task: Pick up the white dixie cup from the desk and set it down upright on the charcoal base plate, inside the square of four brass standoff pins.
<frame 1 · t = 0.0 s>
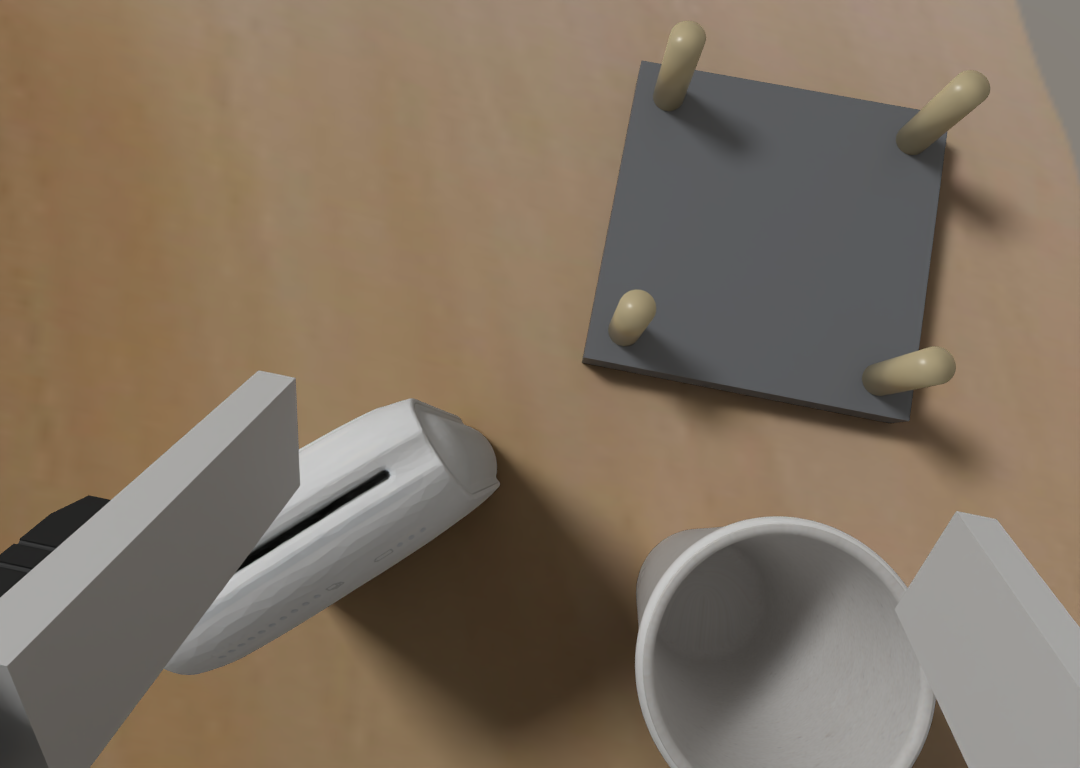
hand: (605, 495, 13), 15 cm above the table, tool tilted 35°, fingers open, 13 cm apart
photo printer: (394, 506, 28), on the table
dixie cup: (699, 593, 27), on the table
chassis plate: (758, 245, 29), on the table
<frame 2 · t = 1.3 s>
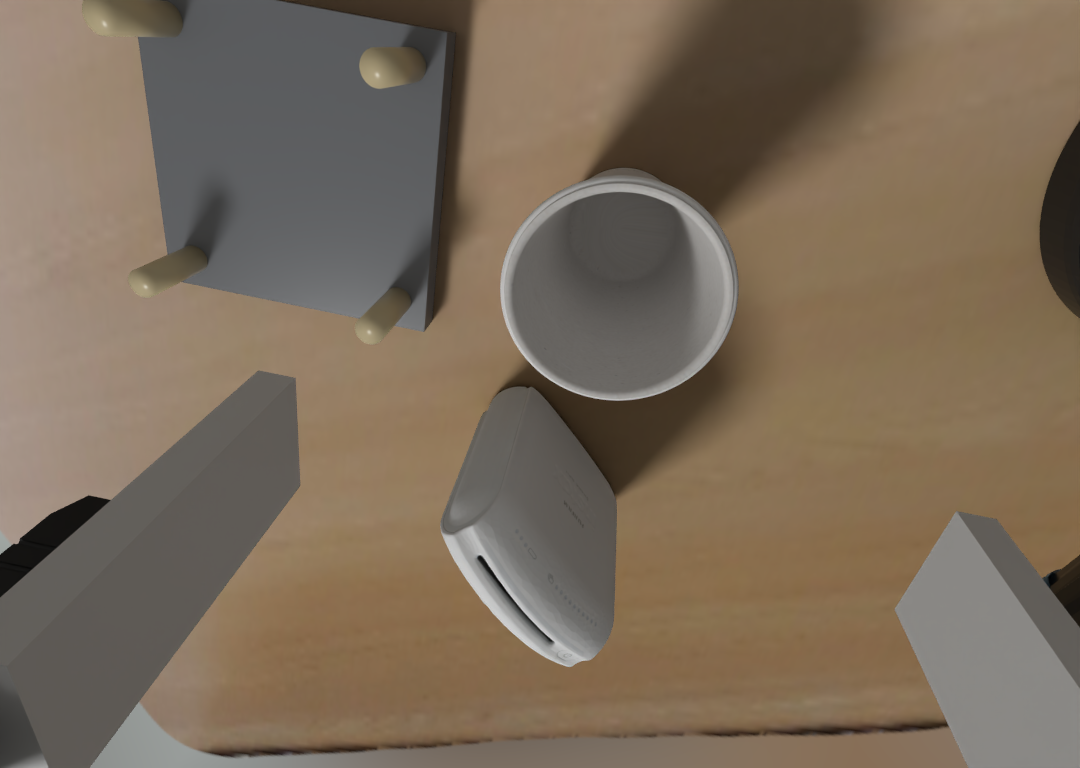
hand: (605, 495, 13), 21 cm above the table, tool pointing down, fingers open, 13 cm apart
photo printer: (553, 451, 38), on the table
dixie cup: (621, 226, 31), on the table
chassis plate: (306, 165, 31), on the table
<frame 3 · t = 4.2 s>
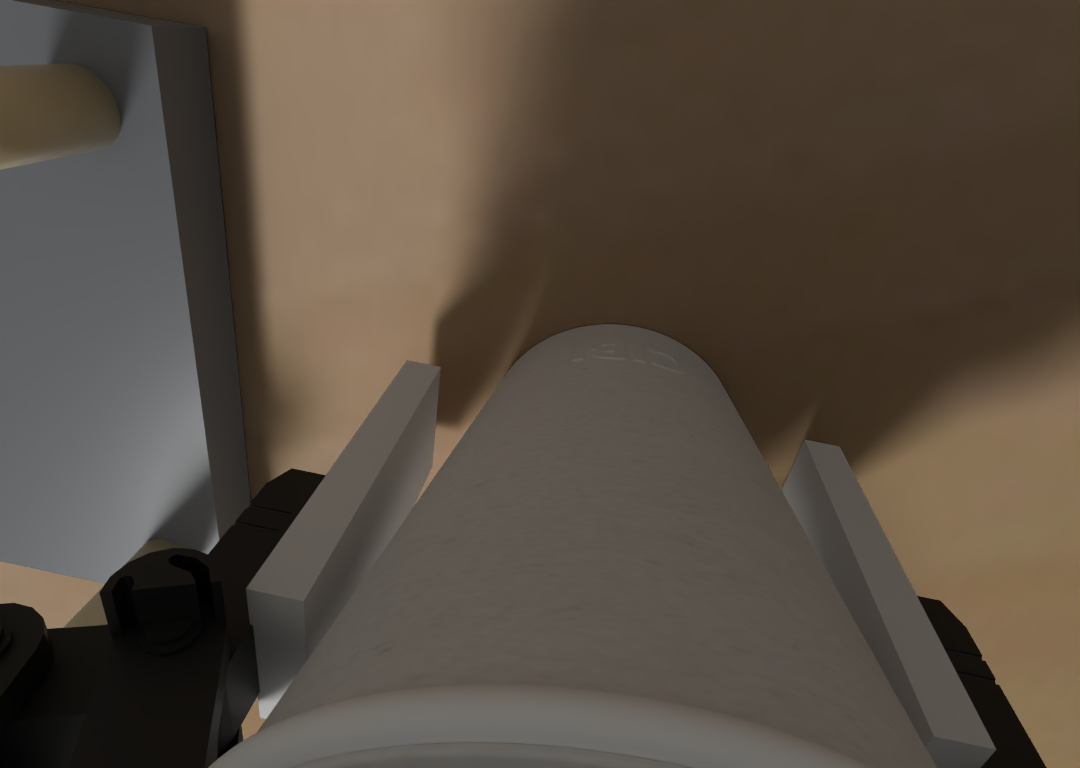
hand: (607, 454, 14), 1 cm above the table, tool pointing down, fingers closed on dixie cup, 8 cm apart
dixie cup: (608, 431, 15), on the table, touching gripper
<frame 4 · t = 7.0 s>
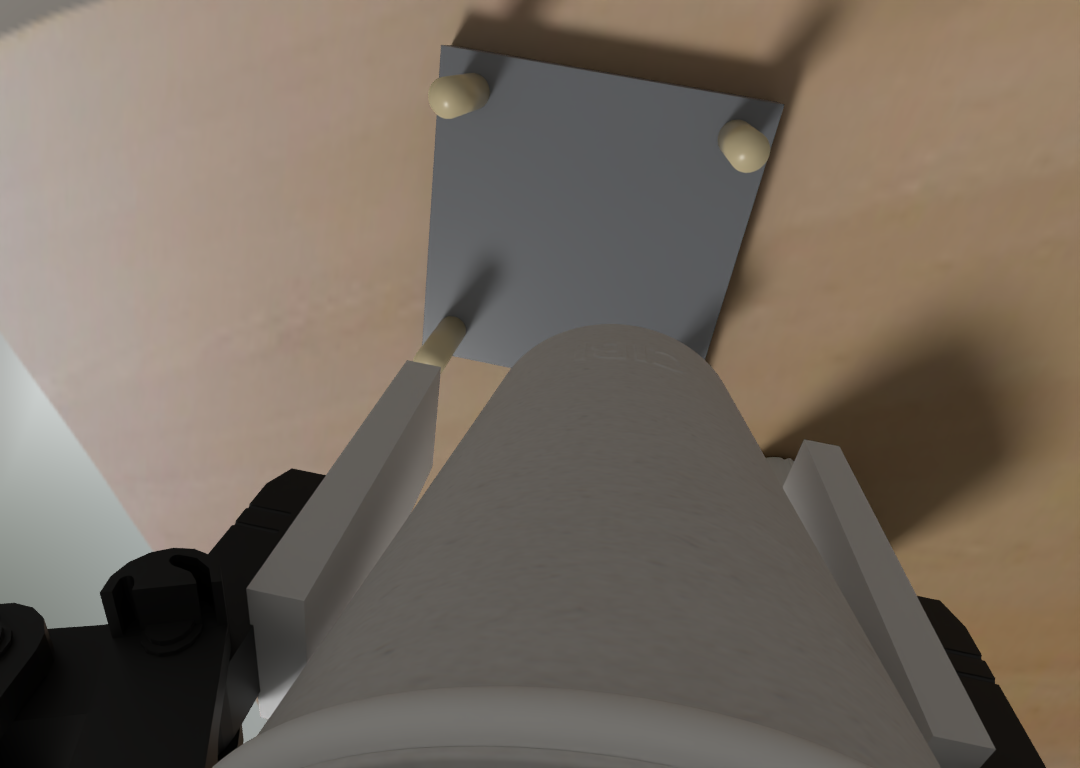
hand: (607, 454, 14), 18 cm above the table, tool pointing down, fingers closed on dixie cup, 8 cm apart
photo printer: (794, 520, 36), on the table
dixie cup: (610, 431, 15), point 17 cm above the table, touching gripper
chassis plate: (582, 235, 30), on the table
when the fingers open (4 cm above the table, at t = 10.1 s): dixie cup drops 1 cm, resting on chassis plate.
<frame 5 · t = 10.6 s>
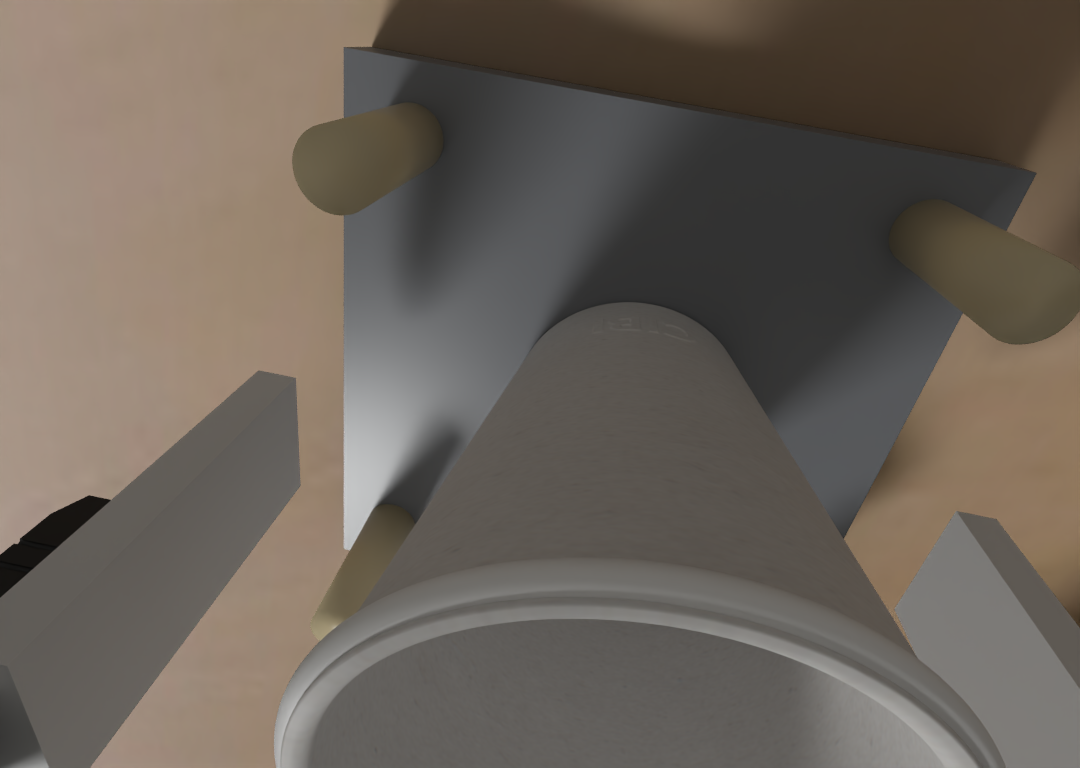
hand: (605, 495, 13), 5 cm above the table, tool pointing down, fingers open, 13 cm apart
dixie cup: (625, 402, 16), point 1 cm above the table, touching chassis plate
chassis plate: (612, 376, 17), on the table
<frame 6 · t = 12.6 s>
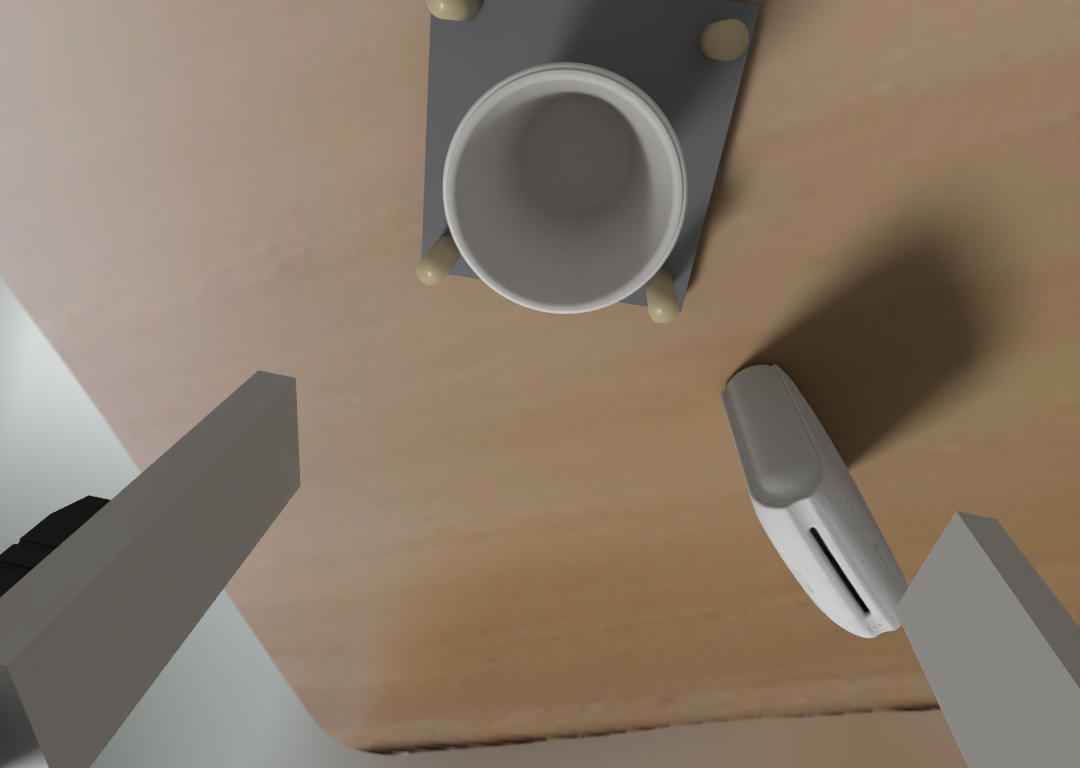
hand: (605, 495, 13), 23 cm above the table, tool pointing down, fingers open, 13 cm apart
photo printer: (782, 429, 38), on the table
dixie cup: (578, 153, 30), point 1 cm above the table, touching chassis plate
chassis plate: (572, 148, 31), on the table
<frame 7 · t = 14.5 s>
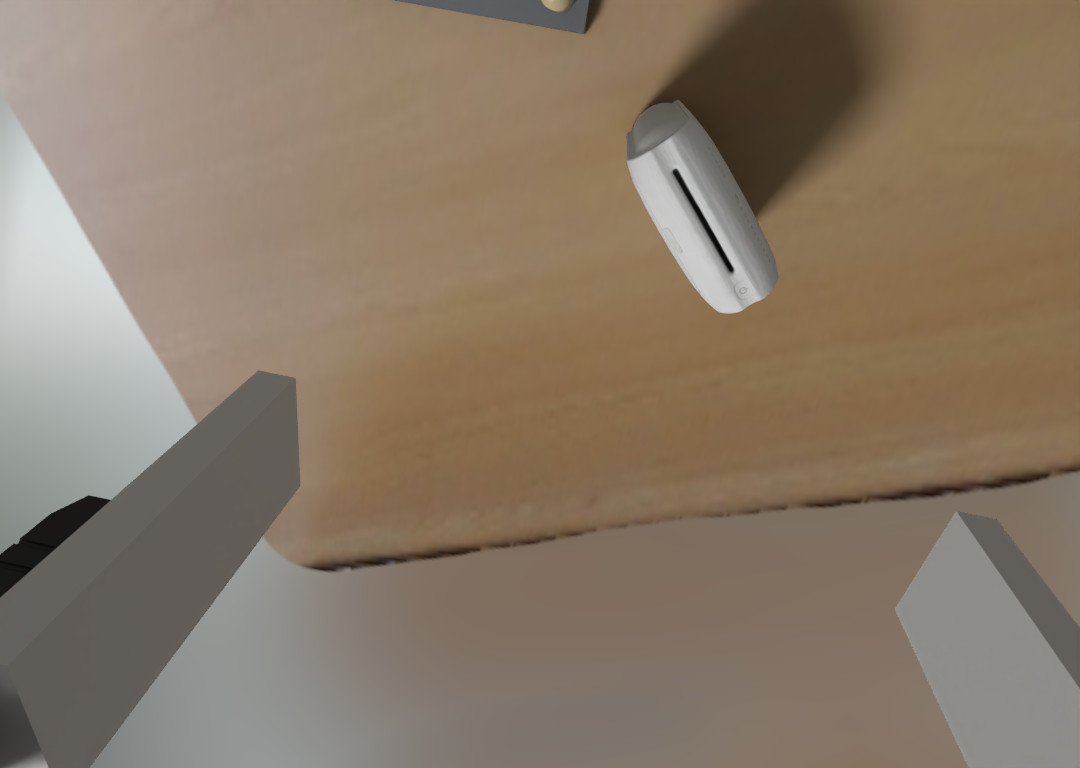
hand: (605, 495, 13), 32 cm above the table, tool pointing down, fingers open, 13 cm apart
photo printer: (688, 180, 40), on the table
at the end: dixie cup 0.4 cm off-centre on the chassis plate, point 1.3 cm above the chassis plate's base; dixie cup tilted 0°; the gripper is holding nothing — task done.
